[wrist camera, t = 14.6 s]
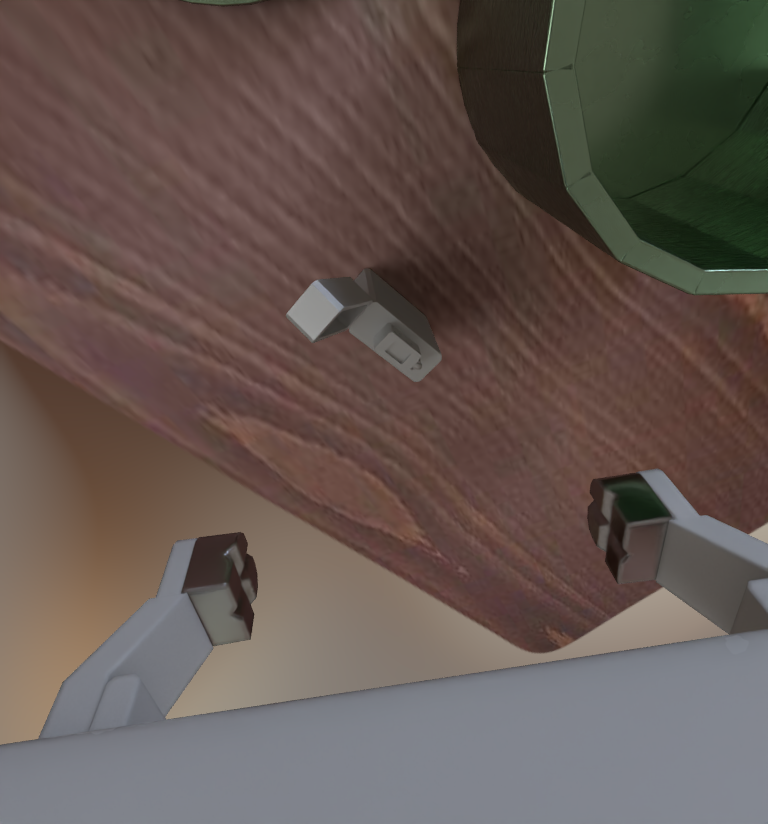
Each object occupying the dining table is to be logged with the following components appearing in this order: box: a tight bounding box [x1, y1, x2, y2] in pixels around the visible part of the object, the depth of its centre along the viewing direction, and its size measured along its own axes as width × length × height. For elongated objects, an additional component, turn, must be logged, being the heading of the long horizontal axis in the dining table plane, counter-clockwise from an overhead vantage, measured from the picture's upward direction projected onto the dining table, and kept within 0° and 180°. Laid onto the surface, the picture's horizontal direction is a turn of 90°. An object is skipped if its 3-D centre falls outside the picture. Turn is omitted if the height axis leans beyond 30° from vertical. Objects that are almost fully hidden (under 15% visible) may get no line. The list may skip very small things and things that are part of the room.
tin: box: [457, 0, 768, 295], centre depth 17 cm, size 14×14×10 cm
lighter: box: [286, 268, 442, 382], centre depth 23 cm, size 7×2×8 cm, turn 48°
